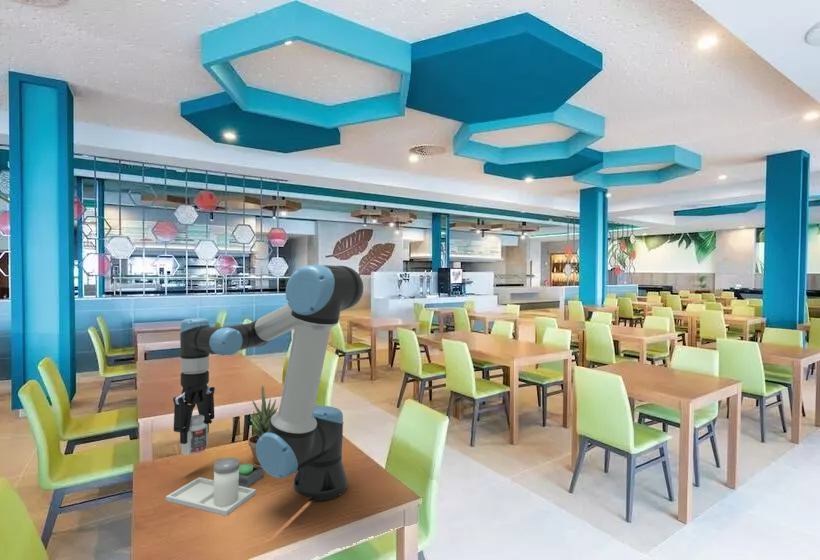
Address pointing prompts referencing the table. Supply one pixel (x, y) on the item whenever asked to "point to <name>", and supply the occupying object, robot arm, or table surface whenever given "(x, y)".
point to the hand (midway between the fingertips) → (194, 449)
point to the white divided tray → (206, 496)
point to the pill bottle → (197, 434)
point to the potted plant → (261, 423)
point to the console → (251, 477)
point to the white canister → (226, 481)
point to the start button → (245, 469)
